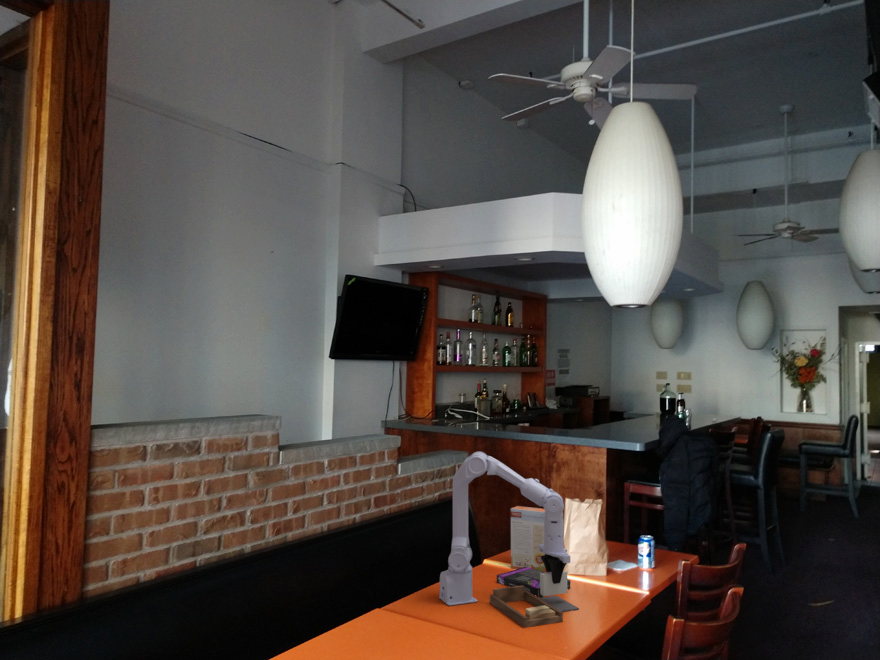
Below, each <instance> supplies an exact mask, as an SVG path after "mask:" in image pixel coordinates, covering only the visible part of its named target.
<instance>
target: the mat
mask: <svg viewBox="0 0 880 660" xmlns="http://www.w3.org/2000/svg"><path fill="white" fill-rule="evenodd" d="M539 598H540V599H541V600H543V601H545V602H546V603H548V604H550V605H551V606H553V607H555V608H556V609H558V610H560V611H561V612H563V613H566V612H565V611H567V612H572V611H571V610H573V611H578V609H579V610H580V608H579V607H578V606H576V605H574V604H572V603H570V602H569V601H567V600H565V599H563V598H561V597H560V596H558V595H549V596H546V597H542V598H541V597H539Z"/></svg>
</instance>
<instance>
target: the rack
mask: <svg viewBox="0 0 880 660" xmlns="http://www.w3.org/2000/svg"><path fill="white" fill-rule="evenodd" d="M492 590H493V593H492V594H489V603H490V604H491V605H492V606H493V607H495V608H496V609H498V610H499V612H502V614H504V615H506V616H507V617H508V618H510V619H511V620H513V621H514V622H515V623H516V624H518V625H520V626H521V627H522V628H529V627H537V626H544V625H545V626H546V625H551V624H557V623H562V622H564V621H563V620H564V616H563V615H564V614H563V613H564V612H561V611H560V610H558V609H556V608H555V607H553V606H551V605H550V604H548V603H546V602H545V601H543V600H541V599H540V598H541V597H538V596H535V595H533V594H532V593H530V592H528V591H527V590H525V586H523V585H522V586H514V587H508V586H506V587H500V588H499V587H498V588H493V589H492ZM519 601H525V602H527V603H529V604H530V605H532V606H533V607H538V606H544V605H545V606H547V607H549V609H551V610H553V611H555V616H550V617H543V618H537V619H530V620H527V617H526V616H525V615H524V614H523V613H521V612H520V611H519V610H517V609H516V608H514V607H512V605H510V604H508V603H511V602H519Z"/></svg>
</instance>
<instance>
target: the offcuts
mask: <svg viewBox="0 0 880 660" xmlns="http://www.w3.org/2000/svg"><path fill="white" fill-rule="evenodd" d="M524 612H525V615H524V616H526V617H527V620H530V619H537V618H543V617H550V616H555V611H553V610H551V609H549V607H547V606H545V605H544V606H538V607H535V606H533V607H532V606H531V607H527V608H525V611H524Z"/></svg>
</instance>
